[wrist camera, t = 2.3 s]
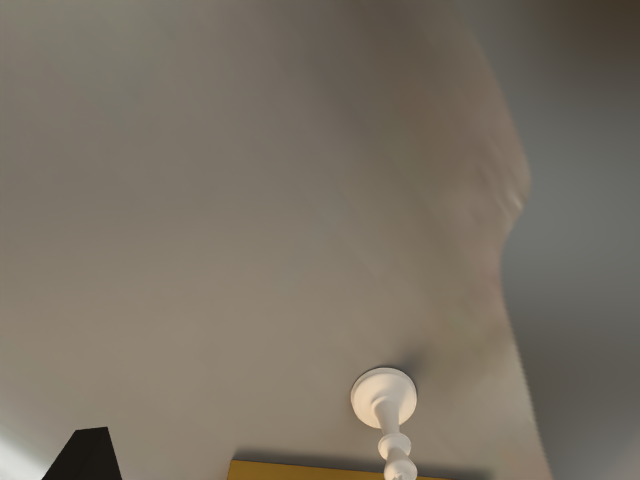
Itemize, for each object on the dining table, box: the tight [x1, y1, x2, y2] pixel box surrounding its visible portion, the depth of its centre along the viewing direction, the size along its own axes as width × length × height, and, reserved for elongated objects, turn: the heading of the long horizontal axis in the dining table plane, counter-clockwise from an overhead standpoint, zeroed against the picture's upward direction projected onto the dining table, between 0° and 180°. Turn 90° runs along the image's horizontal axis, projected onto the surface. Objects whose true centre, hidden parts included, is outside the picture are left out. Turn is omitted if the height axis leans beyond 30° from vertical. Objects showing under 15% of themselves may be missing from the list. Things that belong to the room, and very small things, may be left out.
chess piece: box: [351, 368, 417, 480], centre depth 33 cm, size 5×5×10 cm
